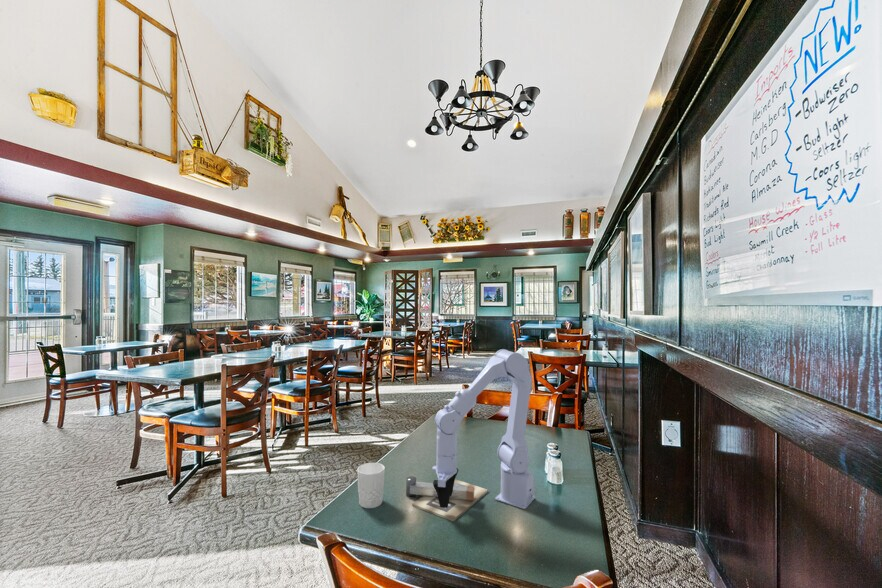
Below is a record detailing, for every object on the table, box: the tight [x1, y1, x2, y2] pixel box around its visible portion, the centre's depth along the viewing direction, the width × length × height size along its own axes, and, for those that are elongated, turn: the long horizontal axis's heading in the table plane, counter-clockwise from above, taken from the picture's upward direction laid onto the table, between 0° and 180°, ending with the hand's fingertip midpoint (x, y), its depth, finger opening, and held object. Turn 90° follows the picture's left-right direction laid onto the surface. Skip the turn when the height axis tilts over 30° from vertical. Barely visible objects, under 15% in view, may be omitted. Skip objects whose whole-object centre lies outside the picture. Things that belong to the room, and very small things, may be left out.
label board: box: [411, 478, 489, 522], centre depth 117 cm, size 14×20×1 cm
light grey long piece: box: [405, 476, 474, 501], centre depth 117 cm, size 20×3×5 cm, turn 79°
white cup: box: [357, 462, 386, 509], centre depth 115 cm, size 8×8×10 cm
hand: (446, 500), depth 111 cm, fingers open, 6 cm apart
